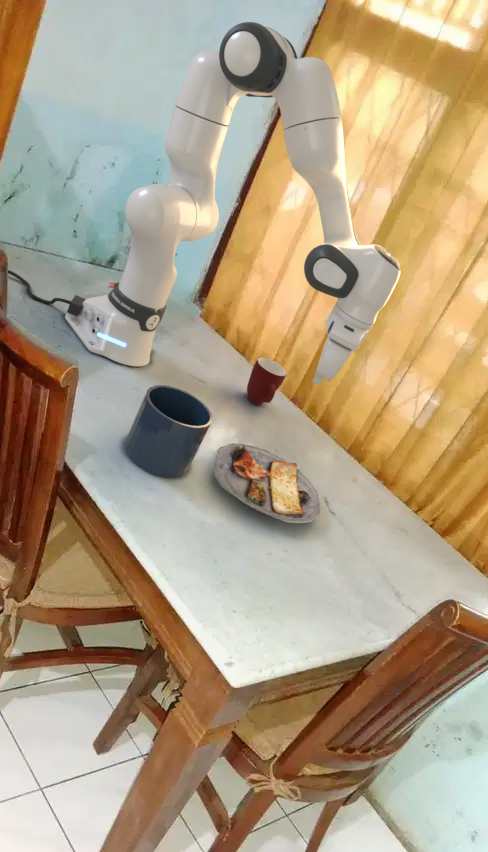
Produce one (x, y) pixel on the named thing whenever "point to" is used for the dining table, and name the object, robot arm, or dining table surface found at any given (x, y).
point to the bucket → (167, 431)
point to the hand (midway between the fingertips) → (316, 381)
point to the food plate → (266, 483)
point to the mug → (264, 380)
